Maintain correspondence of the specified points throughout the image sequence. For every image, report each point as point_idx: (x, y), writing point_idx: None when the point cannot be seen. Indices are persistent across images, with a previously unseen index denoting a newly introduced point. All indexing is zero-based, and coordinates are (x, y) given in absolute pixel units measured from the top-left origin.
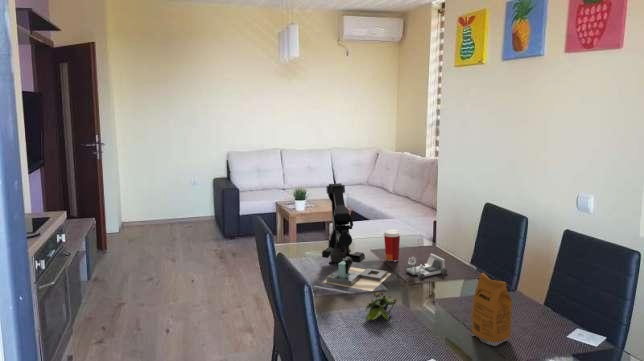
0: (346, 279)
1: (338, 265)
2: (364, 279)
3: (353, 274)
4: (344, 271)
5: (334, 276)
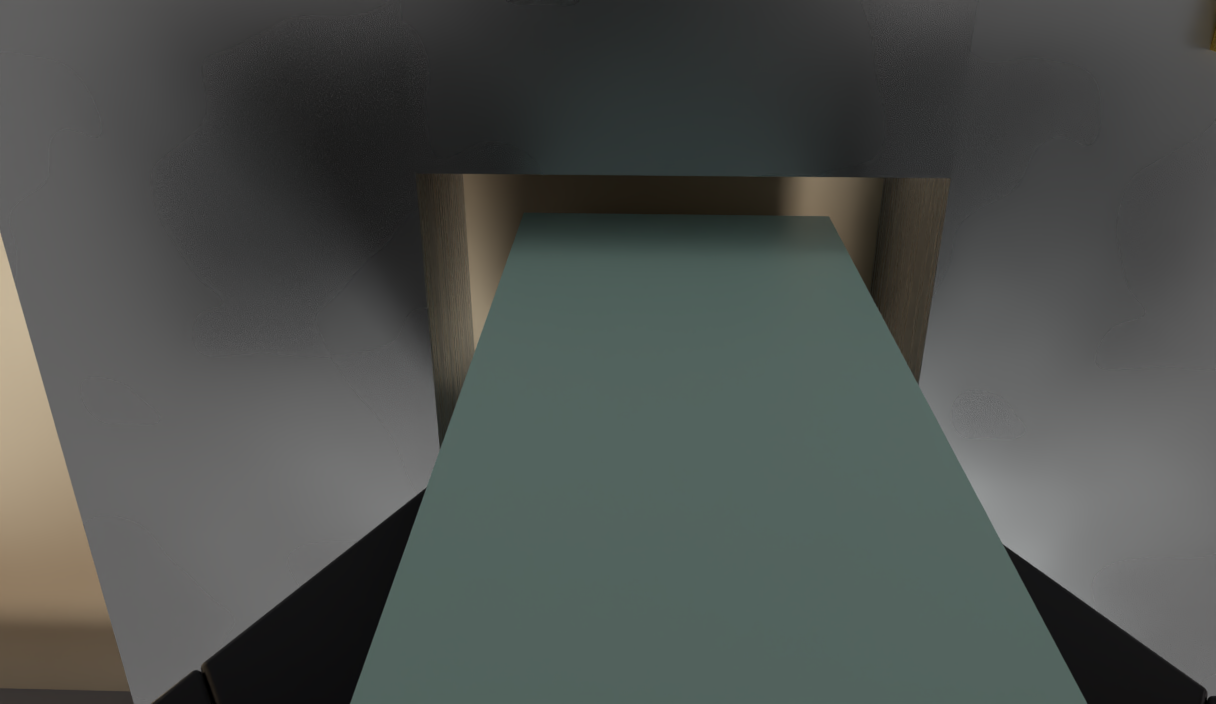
0: (261, 10)
1: (1056, 688)
2: (62, 612)
3: None
4: (464, 405)
5: (1055, 148)
